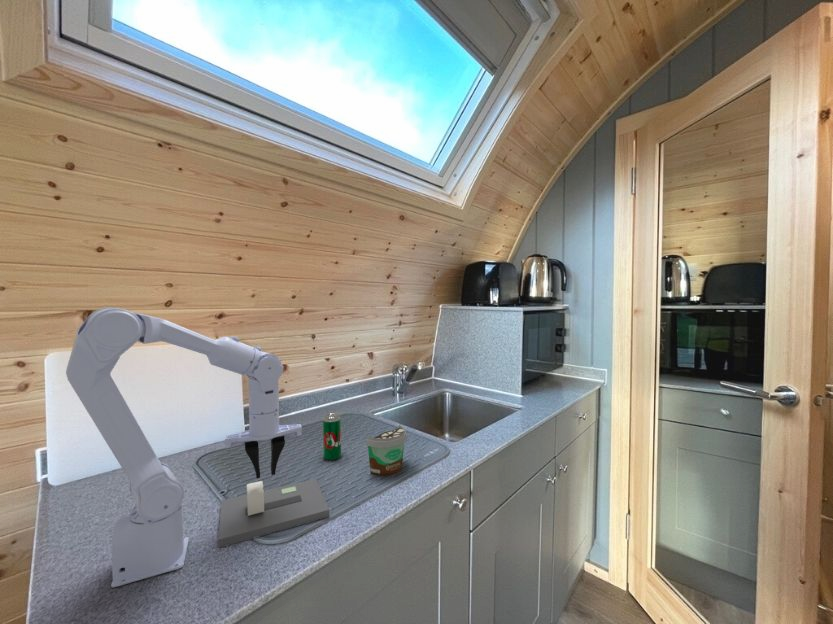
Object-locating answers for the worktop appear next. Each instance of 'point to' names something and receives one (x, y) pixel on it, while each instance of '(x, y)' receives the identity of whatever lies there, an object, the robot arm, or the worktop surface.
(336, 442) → the soda can
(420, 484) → the worktop surface
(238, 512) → the switch panel
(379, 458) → the food container
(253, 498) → the breaker knob
